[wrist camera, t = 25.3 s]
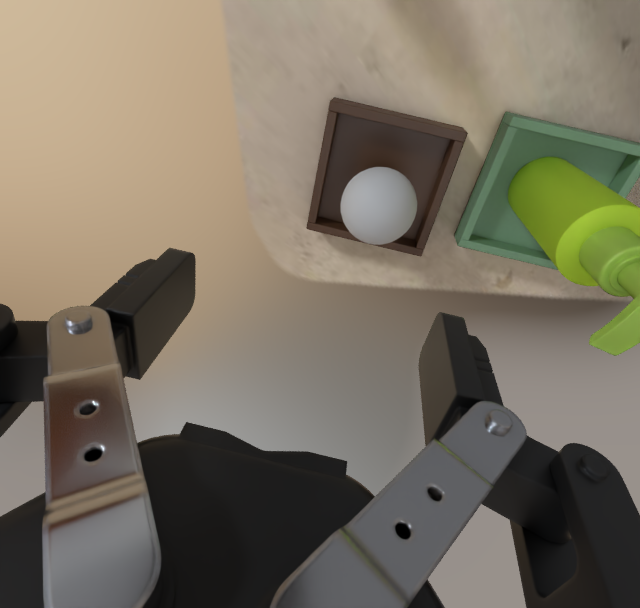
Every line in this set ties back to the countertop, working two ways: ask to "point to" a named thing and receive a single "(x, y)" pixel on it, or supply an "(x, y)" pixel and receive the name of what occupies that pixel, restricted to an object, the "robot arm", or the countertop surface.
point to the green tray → (514, 153)
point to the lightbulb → (378, 205)
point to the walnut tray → (383, 164)
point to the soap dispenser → (584, 237)
